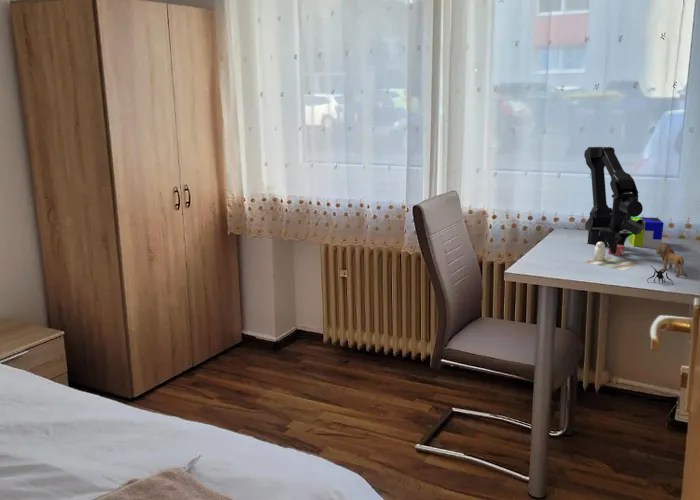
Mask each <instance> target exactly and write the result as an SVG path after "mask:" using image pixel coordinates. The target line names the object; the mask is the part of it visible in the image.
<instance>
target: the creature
mask: <svg viewBox="0 0 700 500" xmlns="http://www.w3.org/2000/svg"><path fill="white" fill-rule="evenodd" d="M650 267H652V269H653V270H654V273H653V275H652V276H650V277H649V278H647V279H646V281H647V283H648V284H650V282H648V280H650V279H653V278H654V279H653V282H651V283H654V282H656V278H658V283H659V285H660V284H664V283H665V284H667V285H668V283H667V282H666V279H667V280H668V281H671V282H672V284H671V285H672V286H673V285H674V281H673V280H672V279H671V278H670V277H668V272H666V271H668V270H669V267H667V269H666V270H662V269H659V270H657V269H656V268H655V267H653V266H652V265H650ZM670 268H671V267H670ZM664 273H665V276H666V278H665V277H664V275H663V274H664ZM663 282H664V283H663Z"/></svg>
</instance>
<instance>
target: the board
mask: <svg viewBox="0 0 700 500" xmlns="http://www.w3.org/2000/svg"><path fill="white" fill-rule="evenodd" d="M584 263H585V264H586V263H587V264H591V265H597V266H600V267H605V268H611V269H616V270H619V271H626V270H628V269H630V268H633V267H636V266H638V265H641V262H636V261H630V260H627V259H626V260H625V259H621V258H614V257H610V256H606V255H605V260H604V261H595V260H594V258H590V259H589V260H586V261H584Z"/></svg>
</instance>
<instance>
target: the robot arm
mask: <svg viewBox="0 0 700 500" xmlns="http://www.w3.org/2000/svg"><path fill="white" fill-rule="evenodd" d="M583 154H584V159H585V164H586V166H587V167H588V168H589V169H590V176H591V188H592V189H591V191H592V204H593V207H592V208H591V210H590V211H589V217H588V219H587V220H586V222H585V223H584V228H585V230H586V231H588V233H587V243H585V244H587V245H590V246H591V245H593V246H596V244H597V243H598V242H603V243H604V244H605V247H607V246H608V249H609V248H610V250H611V253H612V254H615V252H616V248H617V244H618V245H623V246H625V242H626V241H627V239H628V238H629V236H630V235H632V234H634V235H637V234H640V233H641V231H642V229H644V228H645V227H644V226H645V225H644V220H642V219H639V220H638V221H636V220H632V219H631V217H640V216H641V214H642V212H643V209H644V208H643V204H642V203H641V201H639V191H638V188H637V186H636V182H635V180H634V178H633V176H632V175H630V174H629V173H628V172H626V171H625V170H624V168H623V166H622V165H621V163H620V161H619V159H618V157H617V155H616V153H615V148H614V147H612V146H588V147H587V148H586V150H584V153H583ZM605 168H606V170H607V172H608V175H609V177H610V179H611V180H610V183H609V185H610V189H611V191H612V195H611V198H612V207H609V205H608V204H607V203H608V202H607V192H606V190H607V189H606V178H605ZM630 232H631V233H630Z"/></svg>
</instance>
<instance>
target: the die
mask: <svg viewBox="0 0 700 500" xmlns="http://www.w3.org/2000/svg"><path fill="white" fill-rule="evenodd" d="M607 253H608V255H612V256H617V257H619V256H623V255H624V254H625V245H618V244H617V248H616V252H615V254H612V253H611V250H610V248H609V247H608V252H607Z"/></svg>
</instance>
